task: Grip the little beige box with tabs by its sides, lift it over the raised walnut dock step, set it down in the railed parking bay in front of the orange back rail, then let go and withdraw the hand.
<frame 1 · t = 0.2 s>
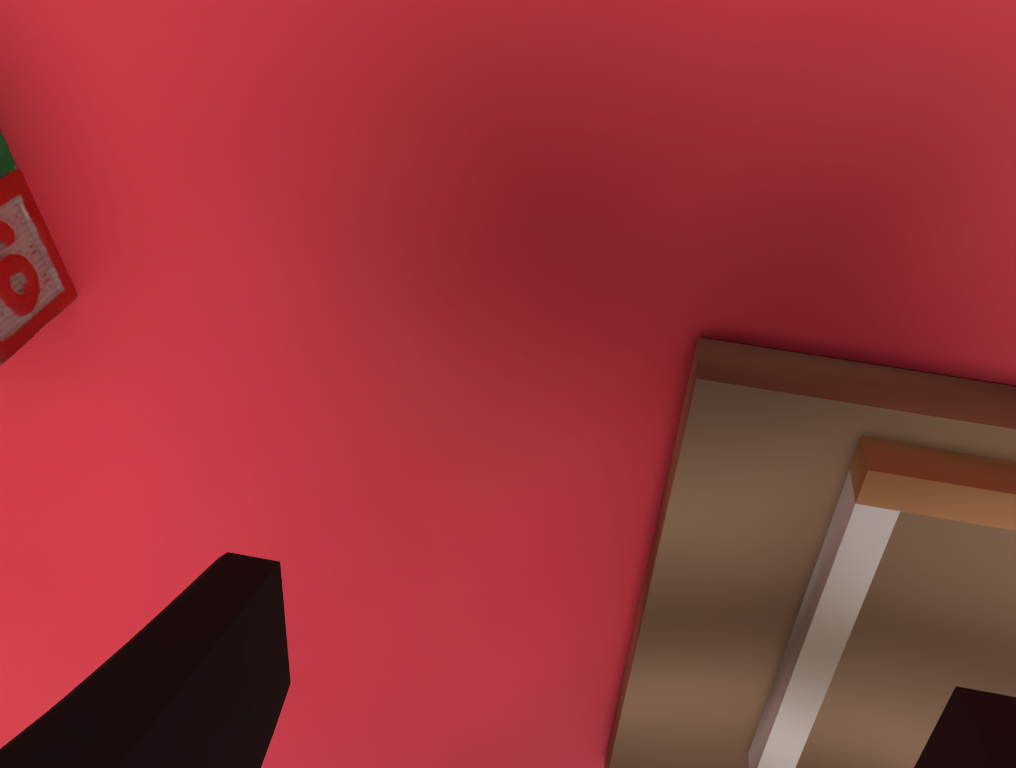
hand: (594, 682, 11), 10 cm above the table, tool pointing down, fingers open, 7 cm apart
dock: (996, 632, 22), on the table
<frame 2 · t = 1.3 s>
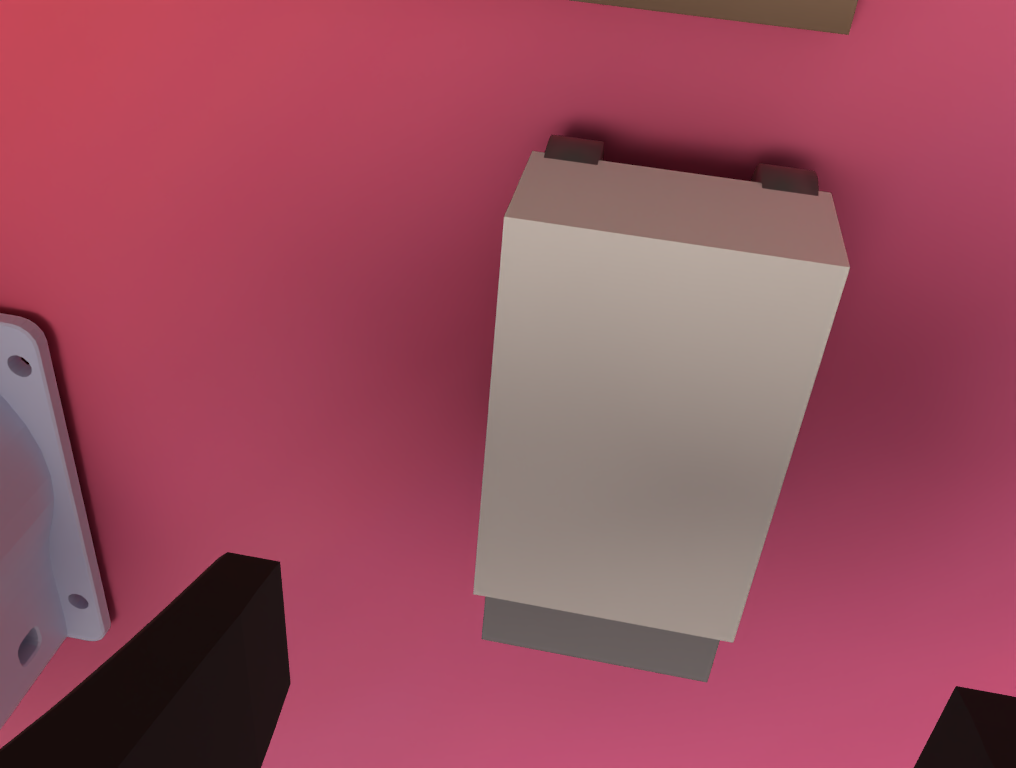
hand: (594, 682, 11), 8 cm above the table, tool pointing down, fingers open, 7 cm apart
beige box with tabs: (647, 321, 18), on the table
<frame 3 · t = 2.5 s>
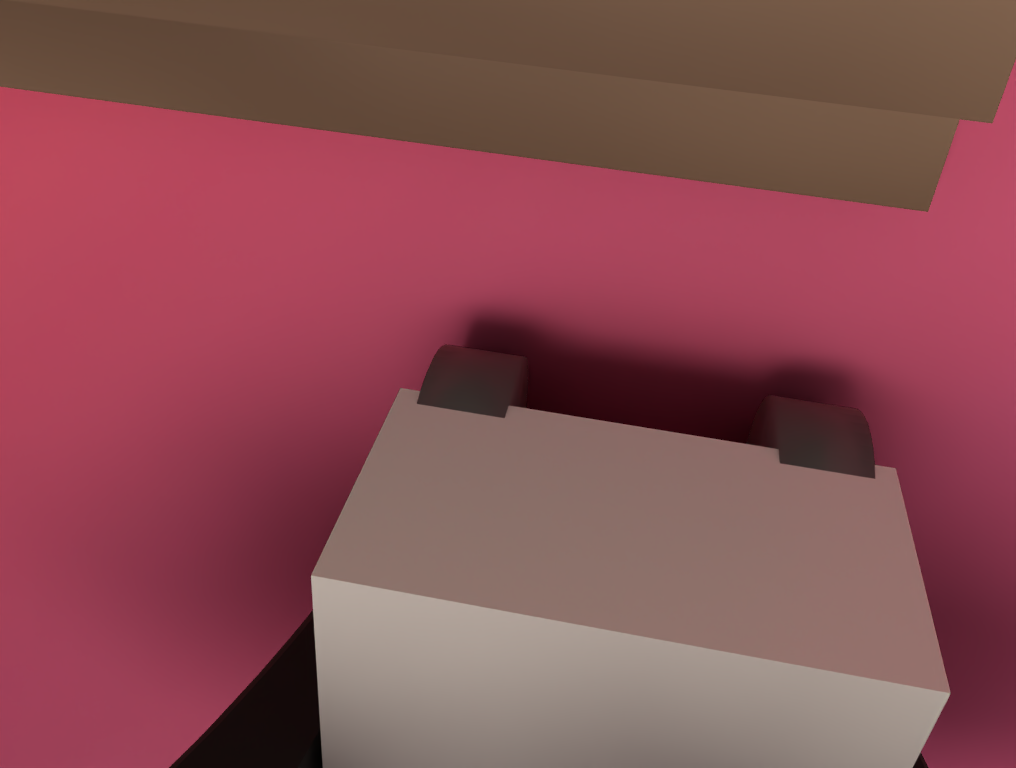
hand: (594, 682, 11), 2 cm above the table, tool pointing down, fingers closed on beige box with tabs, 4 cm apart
beige box with tabs: (607, 577, 12), on the table, touching gripper
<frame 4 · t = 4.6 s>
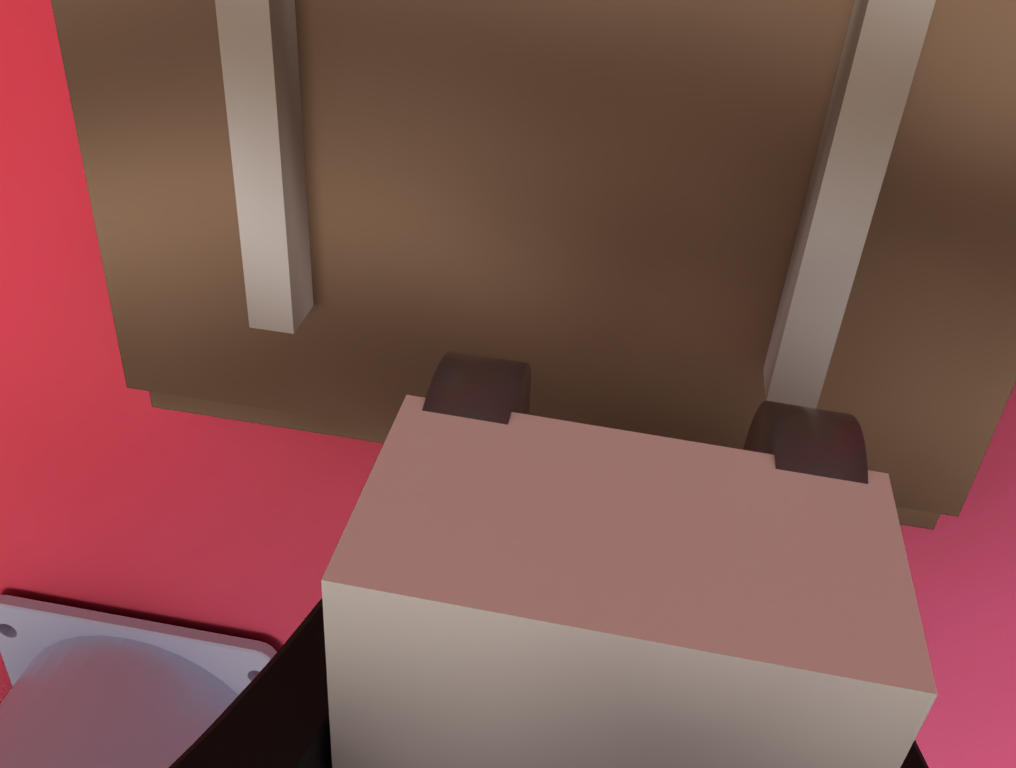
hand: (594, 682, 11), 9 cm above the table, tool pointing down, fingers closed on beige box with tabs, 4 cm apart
beige box with tabs: (607, 576, 12), point 7 cm above the table, touching gripper
dock: (564, 84, 16), on the table
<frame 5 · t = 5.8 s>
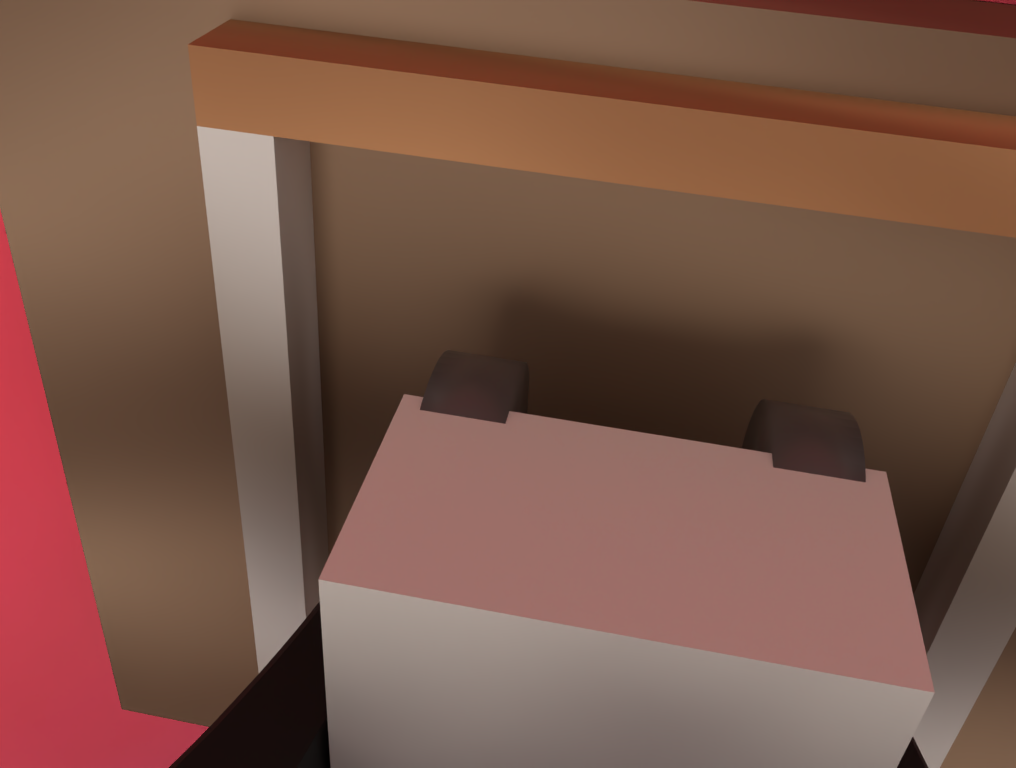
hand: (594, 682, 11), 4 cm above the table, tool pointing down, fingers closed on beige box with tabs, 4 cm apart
beige box with tabs: (606, 575, 12), point 2 cm above the table, touching gripper
dock: (623, 446, 14), on the table
when the fingers open (4 cm above the table, at t = 6.6 s): beige box with tabs stays where it is, resting on dock.
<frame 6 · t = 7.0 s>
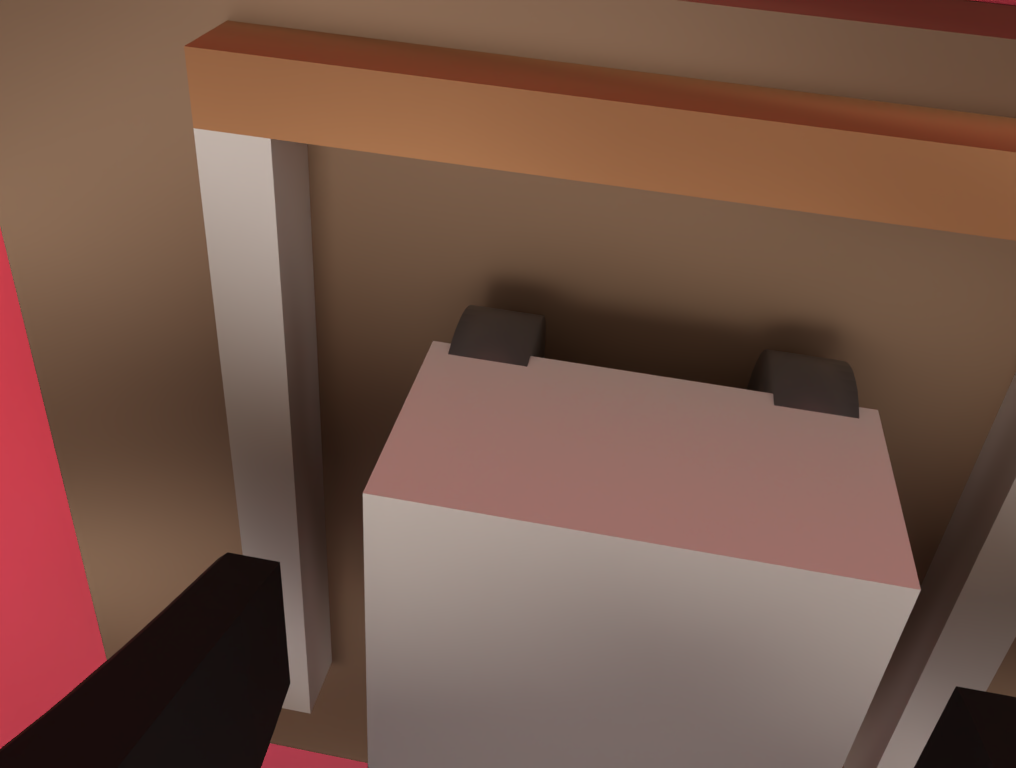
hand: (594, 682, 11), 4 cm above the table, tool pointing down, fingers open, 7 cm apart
beige box with tabs: (616, 527, 13), point 1 cm above the table, touching dock
dock: (623, 449, 14), on the table
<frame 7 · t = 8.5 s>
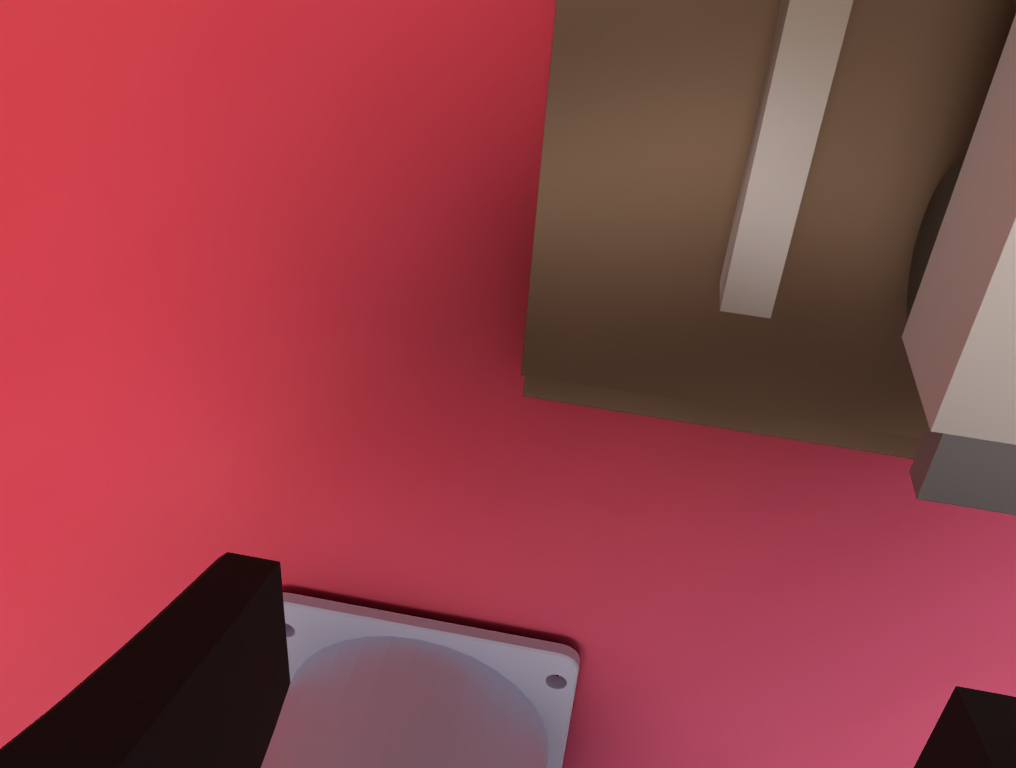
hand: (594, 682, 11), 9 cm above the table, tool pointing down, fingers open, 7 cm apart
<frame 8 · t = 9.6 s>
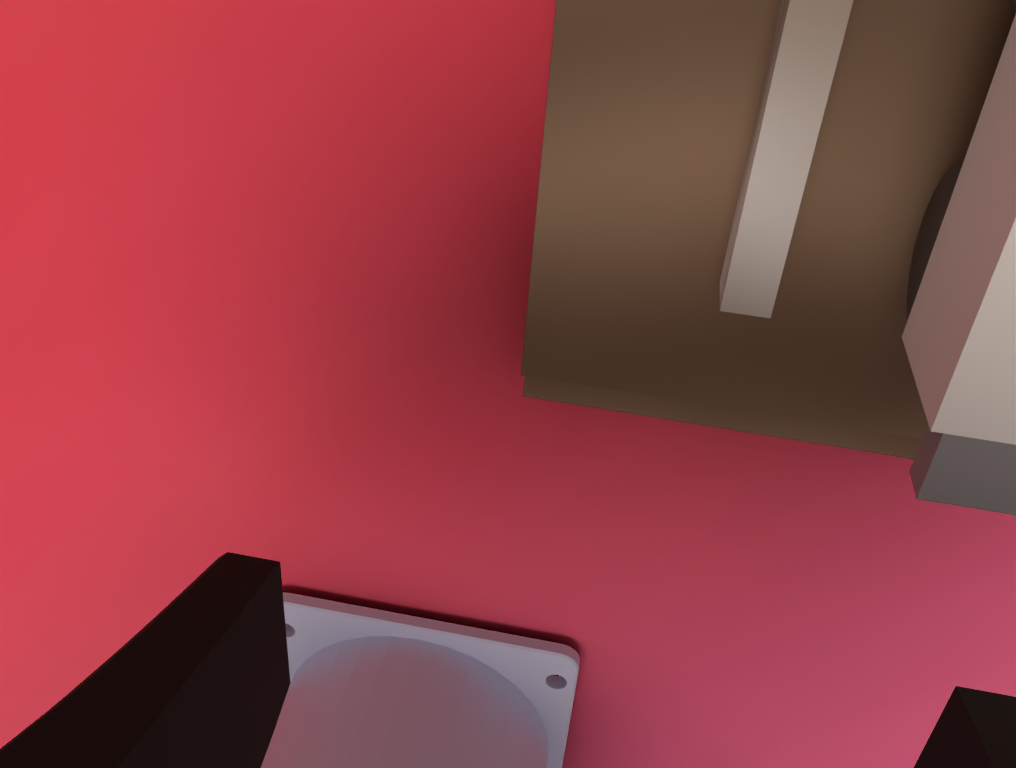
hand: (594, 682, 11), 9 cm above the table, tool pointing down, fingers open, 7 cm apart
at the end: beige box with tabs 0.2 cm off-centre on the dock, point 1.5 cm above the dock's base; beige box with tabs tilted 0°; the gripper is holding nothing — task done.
